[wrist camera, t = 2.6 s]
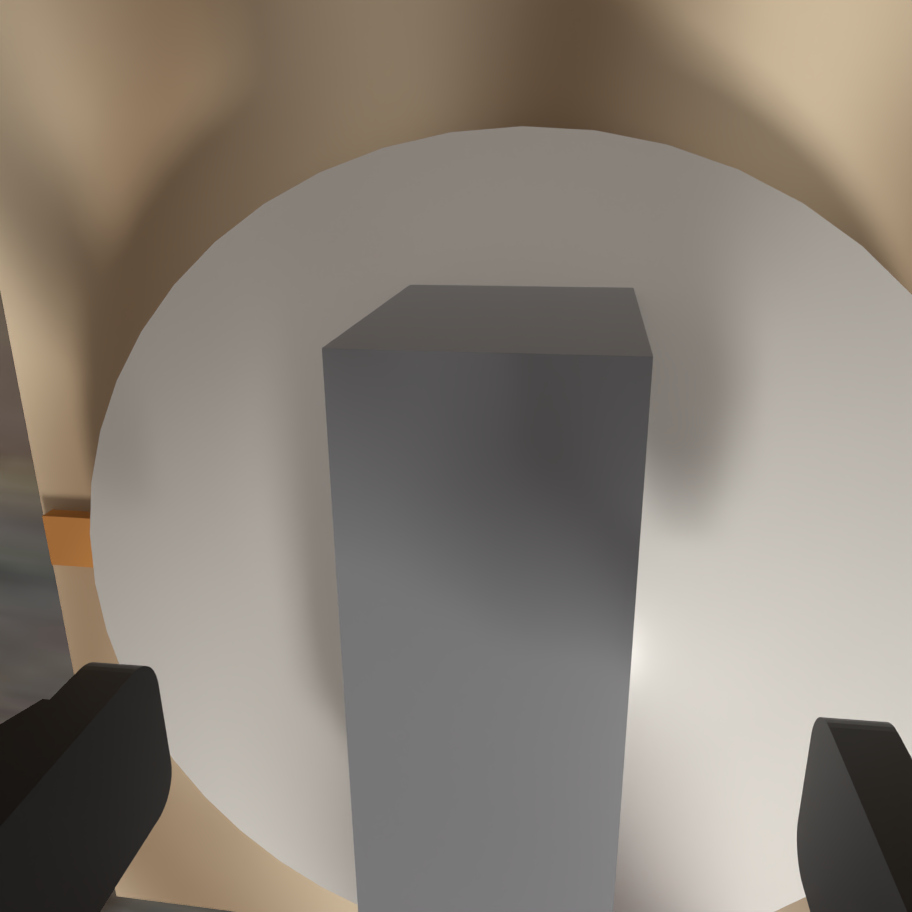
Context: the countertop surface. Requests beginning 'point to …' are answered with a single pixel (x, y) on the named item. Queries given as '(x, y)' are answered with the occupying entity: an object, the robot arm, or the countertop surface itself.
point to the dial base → (343, 139)
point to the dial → (517, 522)
